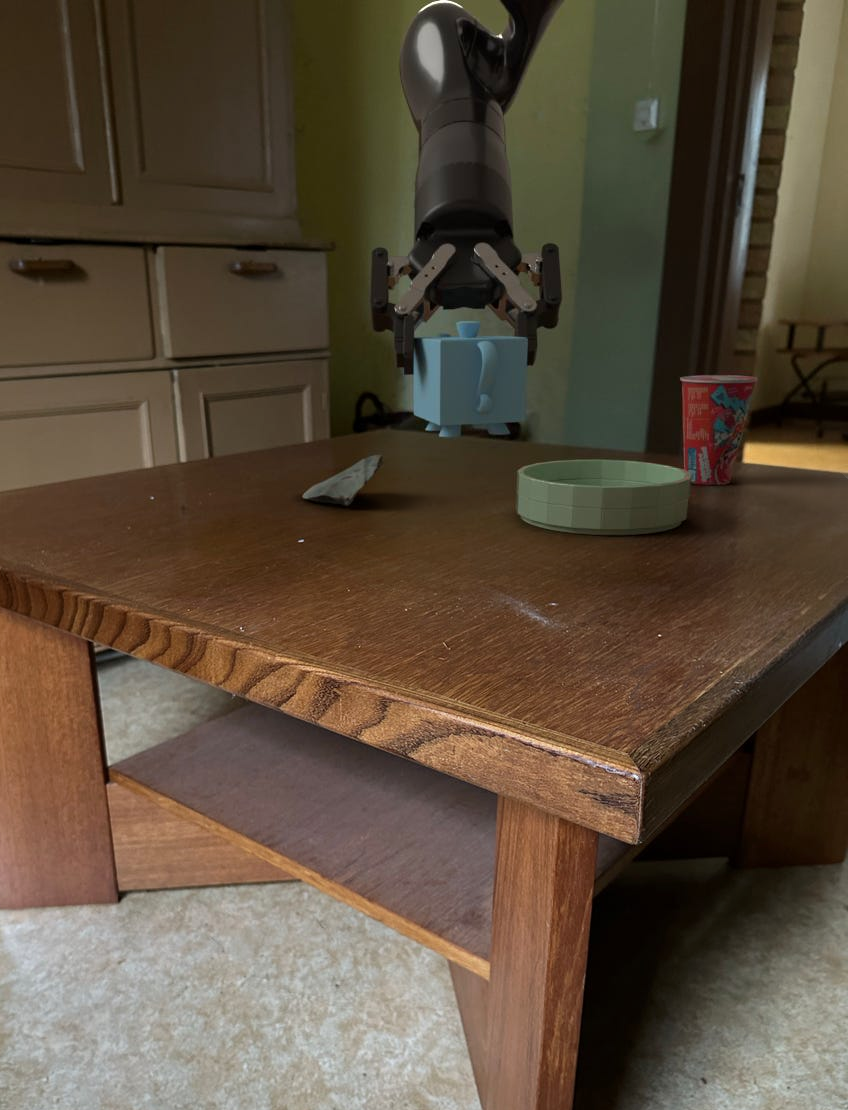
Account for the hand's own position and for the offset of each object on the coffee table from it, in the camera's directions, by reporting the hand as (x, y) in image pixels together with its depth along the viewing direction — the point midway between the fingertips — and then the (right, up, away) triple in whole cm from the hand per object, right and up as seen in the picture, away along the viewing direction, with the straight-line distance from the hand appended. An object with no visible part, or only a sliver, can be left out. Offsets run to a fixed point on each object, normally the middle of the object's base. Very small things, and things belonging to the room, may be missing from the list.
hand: (465, 365), depth 64 cm
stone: (-10, -4, +37) cm, 39 cm away
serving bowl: (+16, -7, +27) cm, 32 cm away
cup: (+34, 0, +45) cm, 57 cm away
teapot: (0, -4, +3) cm, 5 cm away
